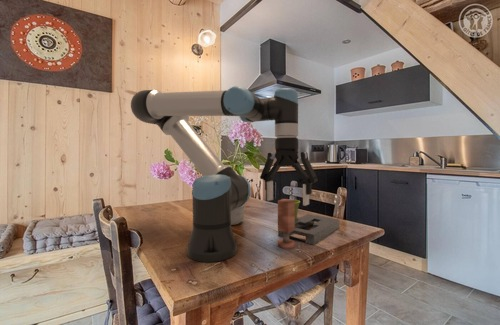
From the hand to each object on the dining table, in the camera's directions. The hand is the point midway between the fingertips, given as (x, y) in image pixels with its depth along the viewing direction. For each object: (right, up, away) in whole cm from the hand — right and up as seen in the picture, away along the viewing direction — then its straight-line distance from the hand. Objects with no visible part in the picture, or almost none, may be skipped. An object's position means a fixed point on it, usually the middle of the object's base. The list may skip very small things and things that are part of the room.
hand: (287, 202), depth 80 cm
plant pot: (+6, -13, +32) cm, 35 cm away
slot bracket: (+11, -14, +14) cm, 23 cm away
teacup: (-20, -14, +29) cm, 37 cm away
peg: (0, -14, +1) cm, 14 cm away
